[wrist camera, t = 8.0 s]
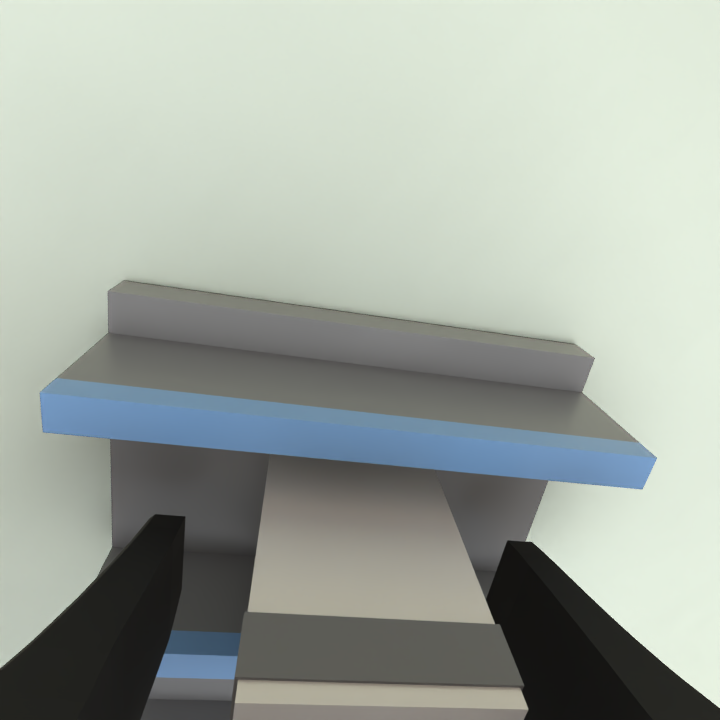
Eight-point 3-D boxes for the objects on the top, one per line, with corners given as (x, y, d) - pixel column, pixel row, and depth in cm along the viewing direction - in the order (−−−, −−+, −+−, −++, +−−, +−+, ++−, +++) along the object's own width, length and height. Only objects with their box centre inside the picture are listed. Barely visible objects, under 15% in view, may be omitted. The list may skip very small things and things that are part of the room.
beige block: (257, 545, 14) (210, 872, 8) (272, 421, 13) (231, 699, 6) (394, 554, 15) (459, 865, 8) (425, 438, 13) (533, 706, 7)
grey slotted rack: (126, 806, 20) (83, 958, 16) (123, 280, 12) (35, 338, 8) (410, 803, 22) (431, 939, 18) (575, 344, 14) (676, 416, 10)
